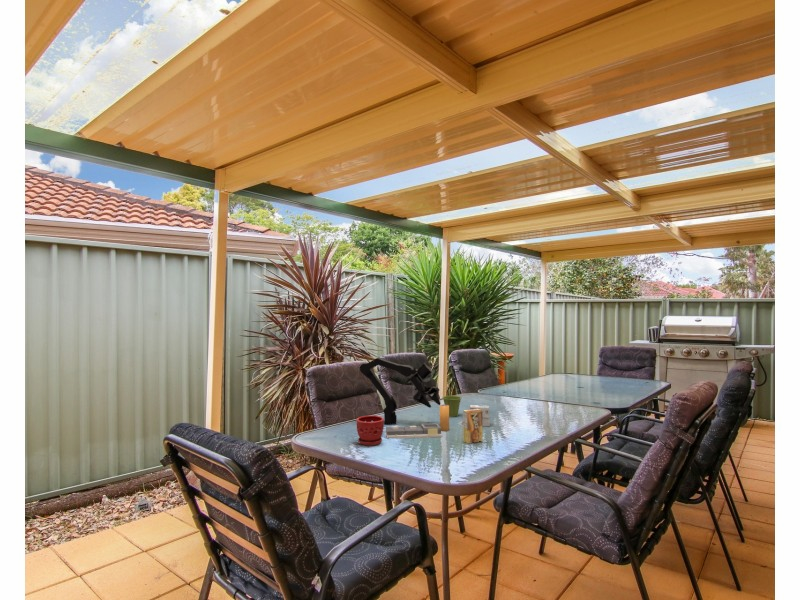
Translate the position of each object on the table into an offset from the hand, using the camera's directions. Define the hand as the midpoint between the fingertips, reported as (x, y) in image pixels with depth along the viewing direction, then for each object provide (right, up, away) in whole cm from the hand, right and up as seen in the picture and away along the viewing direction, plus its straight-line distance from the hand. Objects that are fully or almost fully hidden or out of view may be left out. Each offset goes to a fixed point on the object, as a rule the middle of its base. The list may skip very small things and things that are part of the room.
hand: (435, 405), depth 248 cm
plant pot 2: (+13, -14, +31) cm, 36 cm away
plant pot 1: (-34, -11, -30) cm, 47 cm away
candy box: (+16, -11, -28) cm, 34 cm away
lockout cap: (+5, -12, -4) cm, 13 cm away
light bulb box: (+25, -13, +7) cm, 29 cm away
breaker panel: (-13, -12, -15) cm, 23 cm away
